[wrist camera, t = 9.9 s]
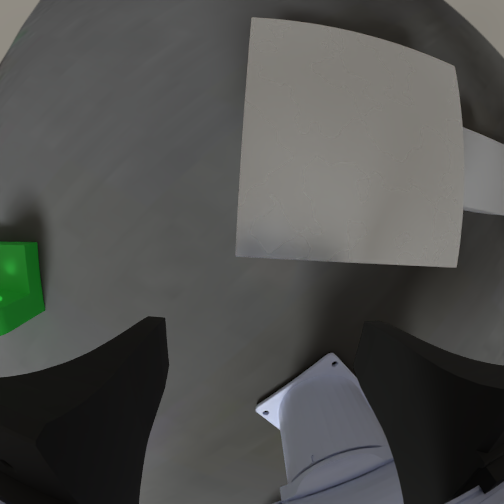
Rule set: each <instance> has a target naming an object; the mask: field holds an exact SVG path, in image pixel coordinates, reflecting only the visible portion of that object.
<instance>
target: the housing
mask: <svg viewBox="0 0 504 504" xmlns="http://www.w3.org/2000/svg"><path fill="white" fill-rule="evenodd" d="M463 202H464V140H463V125H462V114H461V105H460V97H459V89H458V83H457V77H456V71H455V66H453V65H451V64H448V63H446V62H444V61H442V60H439V59H437V58H434V57H432V56H430V55H427V54H424V53H422V52H419V51H417V50H414V49H411V48H408V47H405V46H402V45H399V44H396V43H393V42H390V41H387V40H383V39H380V38H376V37H373V36H369V35H365V34H361V33H357V32H353V31H349V30H344V29H340V28H335V27H330V26H324V25H318V24H312V23H306V22H298V21H290V20H281V19H270V18H255V17H252V19H251V30H250V42H249V54H248V67H247V79H246V93H245V106H244V120H243V135H242V150H241V166H240V182H239V199H238V216H237V234H236V254H235V256H237V257H255V258H273V259H292V260H311V261H330V262H349V263H369V264H389V265H410V266H431V267H453V268H457V262H458V255H459V247H460V239H461V229H462V218H463Z"/></svg>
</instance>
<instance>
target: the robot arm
mask: <svg viewBox="0 0 504 504" xmlns="http://www.w3.org/2000/svg"><path fill="white" fill-rule="evenodd" d="M334 361H337V362H336V364H333V365H332V363H333V362H334ZM353 367H354V370H355V373H356V376H357V377H356V376H355V375H354V374H353V373H352V372H351V371H350V370H349V369H348V368H347V367H346V365H345V364H344V363H343V362H342V361H341V360H340V359H339V358H338V357H337V356H336V355H335V354H334V353H328V354H327V355H325V356H324V357H323V358H322V359H320V360H319V361H318V362H316V363H315V364H314V365H313V366H311V367H310V368H309V369H307V370H306V371H305V372H303V373H302V374H301V375H299V376H298V377H296V378H295V379H294V380H292V381H291V382H290V383H288V384H287V385H285V386H284V387H282V388H281V389H280V390H278V391H277V392H275V393H274V394H272V395H271V396H269V397H268V398H266V399H265V400H264V401H262V402H260V403H259V404H258V405H257V406H256V411H257V413H259V414H260V415H261V416H262V417H264V418H265V419H266V420H268V421H269V422H270V423H272V424H273V425H274V426H276V427H277V428H278V429H280V431H281V438H282V445H283V452H284V459H285V466H286V473H287V480H288V484H287V485H284V486H281V487H280V494H281V501H278V502H274V503H272V504H504V366H502V365H496V364H490V363H485V362H481V361H476V360H473V359H469V358H466V357H463V356H459V355H456V354H453V353H451V352H448V351H445V350H443V349H441V348H438V347H436V346H434V345H431V344H429V343H427V342H425V341H423V340H421V339H418V338H416V337H414V336H412V335H410V334H408V333H406V332H404V331H402V330H400V329H398V328H396V327H393V326H391V325H389V324H386V323H384V322H381V321H365V322H364V327H363V331H362V335H361V339H360V343H359V346H358V350H357V354H356V358H355V361H354V365H353ZM168 368H169V359H168V349H167V337H166V323H165V318H162V317H150V316H148V317H146V318H144V319H143V320H141V321H140V322H138V323H137V324H135V325H134V326H132V327H131V328H129V329H127V330H126V331H124V332H123V333H121V334H120V335H118V336H117V337H115V338H114V339H112V340H110V341H108V342H107V343H105V344H103V345H101V346H100V347H98V348H96V349H94V350H92V351H91V352H89V353H87V354H84V355H82V356H80V357H78V358H75V359H73V360H71V361H68V362H66V363H63V364H60V365H57V366H54V367H50V368H47V369H44V370H41V371H37V372H32V373H28V374H23V375H17V376H11V377H1V378H0V504H139V495H140V486H141V478H142V470H143V464H144V458H145V452H146V446H147V442H148V438H149V435H150V431H151V428H152V425H153V422H154V419H155V416H156V413H157V410H158V407H159V404H160V401H161V398H162V395H163V392H164V389H165V384H166V379H167V374H168ZM264 411H268V412H264Z"/></svg>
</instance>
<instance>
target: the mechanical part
mask: <svg viewBox="0 0 504 504" xmlns="http://www.w3.org/2000/svg"><path fill="white" fill-rule="evenodd" d="M43 311H45V306H44V300H43V293H42V286H41V278H40V269H39V258H38V245H37V242H0V336H1V335H4V334H6V333H8V332H10V331H12V330H14V329H15V328H17V327H18V326H20V325H22V324H23V323H25V322H27V321H28V320H30V319H31V318H33V317H35V316H36V315H38V314H40V313H41V312H43Z"/></svg>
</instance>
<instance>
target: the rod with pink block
mask: <svg viewBox="0 0 504 504" xmlns="http://www.w3.org/2000/svg"><path fill="white" fill-rule="evenodd" d="M463 140H464V202H463V210H466V211H471V212H475V213H485V214H494V215H503V216H504V144H501V143H499V142H497V141H495V140H493V139H490V138H488V137H486V136H484V135H481V134H479V133H476V132H474V131H471V130H469V129H466V128H464V127H463Z"/></svg>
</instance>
